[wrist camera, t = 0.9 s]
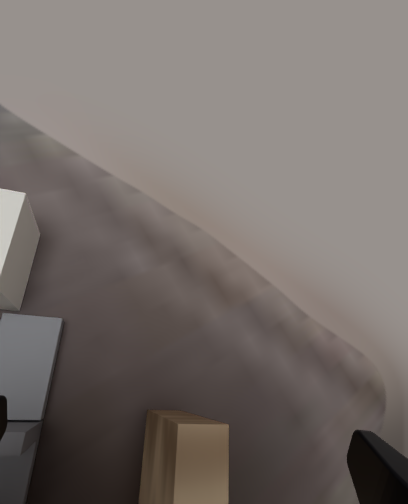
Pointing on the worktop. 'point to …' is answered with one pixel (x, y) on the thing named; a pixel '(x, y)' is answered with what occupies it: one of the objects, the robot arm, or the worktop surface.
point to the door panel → (184, 459)
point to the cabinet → (21, 349)
